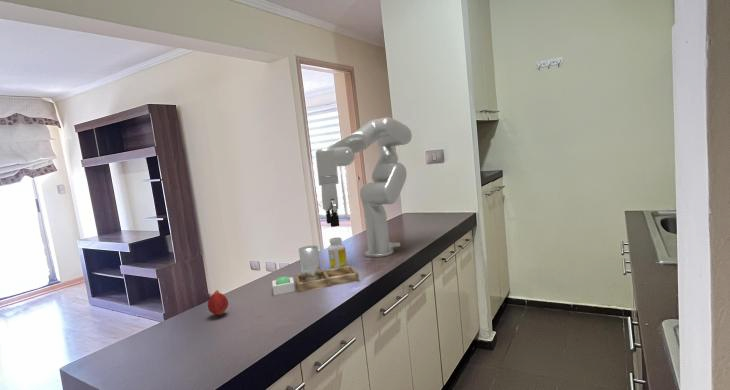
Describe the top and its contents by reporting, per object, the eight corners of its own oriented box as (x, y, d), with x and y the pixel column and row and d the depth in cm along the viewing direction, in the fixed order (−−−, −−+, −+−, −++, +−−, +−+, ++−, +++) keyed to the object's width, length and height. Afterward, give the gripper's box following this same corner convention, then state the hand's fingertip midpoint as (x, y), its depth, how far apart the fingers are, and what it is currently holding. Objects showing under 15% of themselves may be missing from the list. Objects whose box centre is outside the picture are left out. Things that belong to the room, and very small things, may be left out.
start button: (289, 289, 136) (288, 275, 135) (290, 293, 132) (288, 278, 131) (278, 291, 135) (276, 277, 134) (278, 295, 131) (276, 280, 130)
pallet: (352, 274, 146) (351, 265, 146) (359, 283, 135) (358, 273, 134) (296, 284, 141) (294, 275, 141) (298, 295, 130) (297, 285, 129)
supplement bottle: (348, 267, 156) (345, 236, 155) (346, 272, 149) (342, 239, 148) (332, 268, 157) (328, 237, 155) (329, 273, 150) (325, 241, 149)
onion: (210, 321, 115) (206, 295, 114) (208, 315, 120) (204, 290, 120) (230, 315, 118) (227, 290, 117) (228, 310, 123) (224, 285, 122)
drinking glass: (320, 279, 141) (316, 244, 139) (323, 285, 134) (318, 248, 133) (302, 283, 139) (297, 247, 138) (304, 288, 133) (299, 251, 131)
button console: (293, 288, 138) (292, 277, 137) (295, 294, 131) (293, 282, 130) (273, 291, 136) (272, 280, 136) (274, 298, 129) (272, 286, 129)
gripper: (316, 181, 157) (320, 223, 158) (321, 182, 140) (326, 229, 142) (334, 179, 159) (338, 220, 160) (342, 180, 142) (346, 226, 143)
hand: (333, 224), depth 151 cm, fingers open, 9 cm apart
